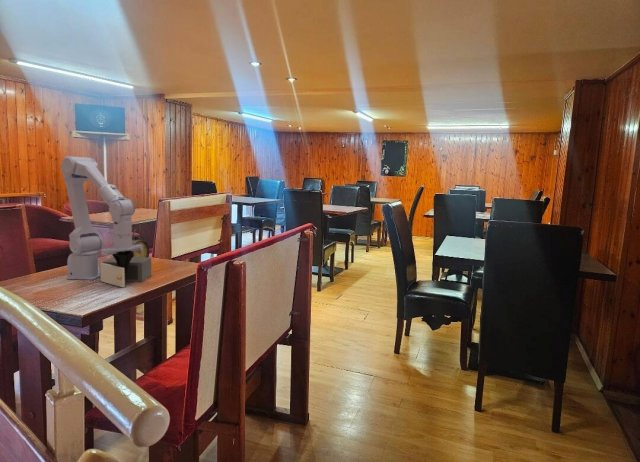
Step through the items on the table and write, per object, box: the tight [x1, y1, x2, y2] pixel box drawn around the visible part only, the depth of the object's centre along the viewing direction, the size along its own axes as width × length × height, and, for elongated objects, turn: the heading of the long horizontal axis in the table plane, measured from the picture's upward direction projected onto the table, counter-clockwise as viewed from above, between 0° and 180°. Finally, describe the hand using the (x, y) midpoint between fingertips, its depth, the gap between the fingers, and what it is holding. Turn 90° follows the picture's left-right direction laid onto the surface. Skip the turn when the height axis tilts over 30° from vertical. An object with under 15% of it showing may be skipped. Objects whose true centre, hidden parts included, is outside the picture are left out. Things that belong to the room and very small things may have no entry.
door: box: [98, 262, 126, 288], centre depth 147 cm, size 14×2×7 cm, turn 59°
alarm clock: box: [131, 229, 150, 258], centre depth 172 cm, size 11×5×16 cm, turn 168°
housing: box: [101, 256, 152, 283], centre depth 157 cm, size 14×10×7 cm
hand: (123, 272), depth 149 cm, fingers closed
